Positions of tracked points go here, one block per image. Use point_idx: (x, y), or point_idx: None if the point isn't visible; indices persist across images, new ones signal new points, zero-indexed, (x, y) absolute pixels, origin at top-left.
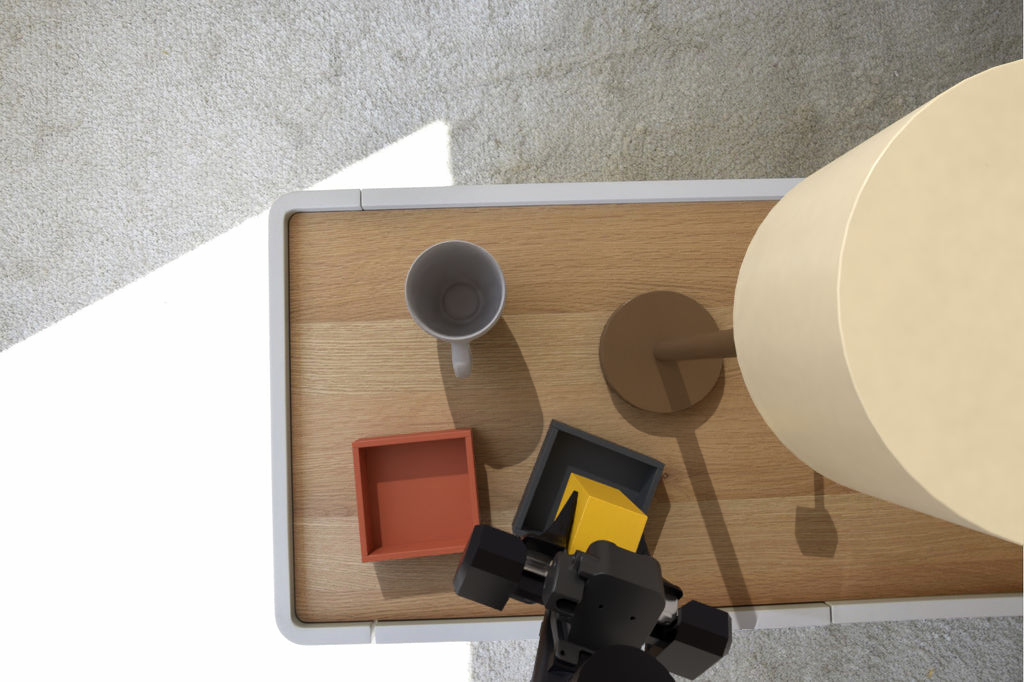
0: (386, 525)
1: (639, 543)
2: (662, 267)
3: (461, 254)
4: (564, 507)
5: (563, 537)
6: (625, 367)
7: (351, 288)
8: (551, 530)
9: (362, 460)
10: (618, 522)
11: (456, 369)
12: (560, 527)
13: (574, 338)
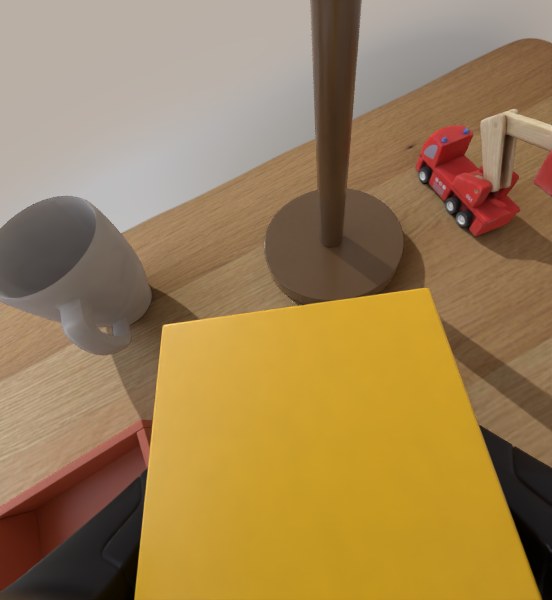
0: None
1: None
2: (295, 192)
3: (84, 240)
4: None
5: (102, 579)
6: (301, 270)
7: (21, 340)
8: (54, 563)
9: (15, 537)
10: (320, 368)
11: (68, 335)
12: (118, 524)
13: (244, 279)
